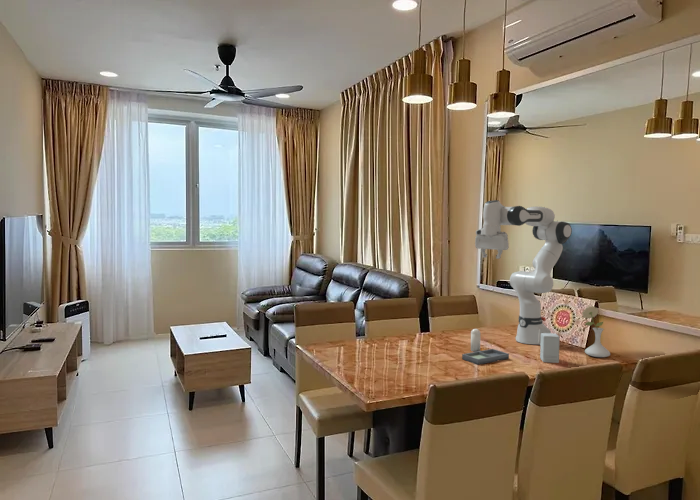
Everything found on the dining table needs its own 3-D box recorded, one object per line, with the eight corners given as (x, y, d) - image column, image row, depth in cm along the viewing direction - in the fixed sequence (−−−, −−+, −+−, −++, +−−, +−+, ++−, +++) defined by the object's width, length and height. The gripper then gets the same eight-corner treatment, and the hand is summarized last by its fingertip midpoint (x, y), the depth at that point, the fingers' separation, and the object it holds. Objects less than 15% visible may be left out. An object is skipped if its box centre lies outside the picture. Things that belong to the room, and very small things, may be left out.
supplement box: (559, 363, 226) (560, 336, 225) (542, 362, 227) (543, 336, 227) (555, 358, 233) (556, 333, 232) (539, 357, 235) (540, 332, 234)
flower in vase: (608, 354, 242) (609, 305, 240) (612, 360, 231) (613, 308, 230) (579, 351, 246) (580, 303, 245) (582, 357, 235) (584, 307, 234)
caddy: (492, 353, 242) (492, 348, 242) (508, 358, 233) (508, 353, 233) (462, 359, 232) (462, 354, 232) (478, 364, 223) (478, 359, 223)
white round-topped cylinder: (475, 348, 252) (475, 327, 251) (482, 350, 247) (482, 329, 247) (468, 350, 249) (469, 328, 249) (475, 352, 245) (475, 330, 244)
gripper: (511, 231, 241) (511, 259, 242) (482, 231, 259) (481, 256, 260) (502, 231, 238) (502, 259, 239) (473, 231, 256) (473, 257, 257)
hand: (491, 258), depth 249 cm, fingers open, 8 cm apart
